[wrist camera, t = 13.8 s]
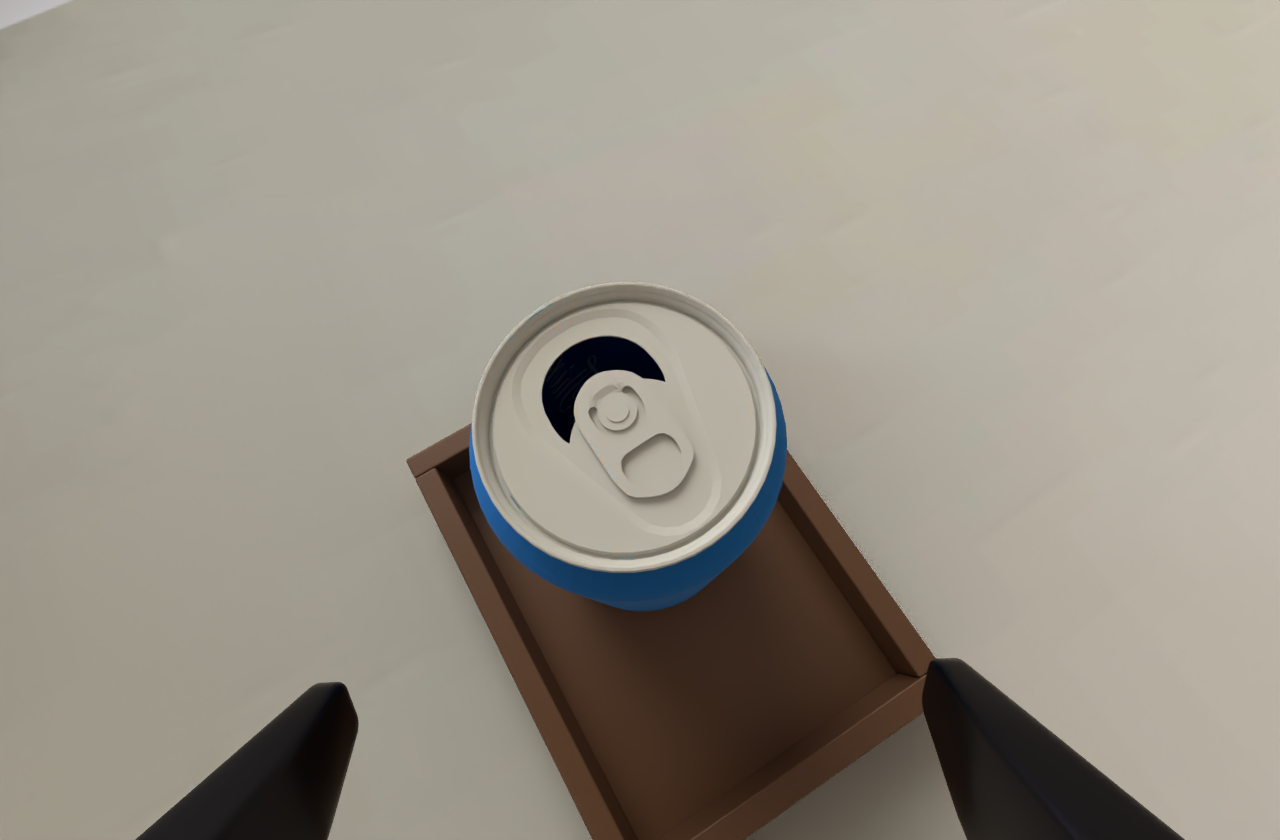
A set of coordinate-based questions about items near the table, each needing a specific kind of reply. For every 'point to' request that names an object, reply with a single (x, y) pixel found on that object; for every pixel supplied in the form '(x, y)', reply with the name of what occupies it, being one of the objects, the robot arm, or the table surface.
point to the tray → (696, 668)
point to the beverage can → (627, 444)
